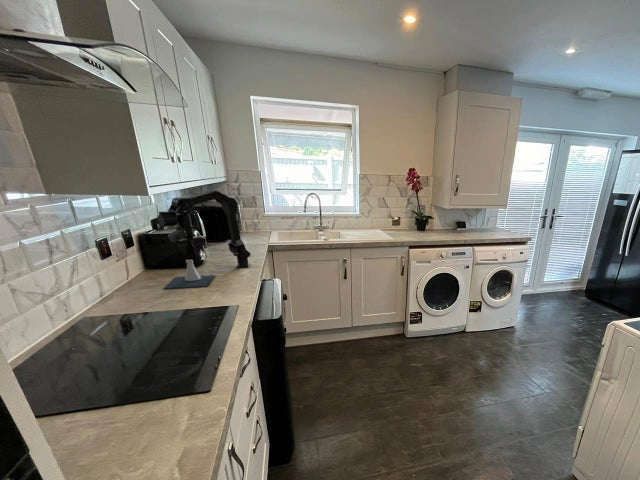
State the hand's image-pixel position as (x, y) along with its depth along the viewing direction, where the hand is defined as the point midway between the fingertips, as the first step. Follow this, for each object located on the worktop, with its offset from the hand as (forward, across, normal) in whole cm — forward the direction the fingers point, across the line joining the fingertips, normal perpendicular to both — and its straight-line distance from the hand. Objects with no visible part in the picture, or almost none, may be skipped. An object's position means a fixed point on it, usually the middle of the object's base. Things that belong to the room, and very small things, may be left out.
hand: (191, 255), depth 165 cm
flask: (+12, +3, -4) cm, 13 cm away
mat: (+12, +5, -6) cm, 14 cm away
